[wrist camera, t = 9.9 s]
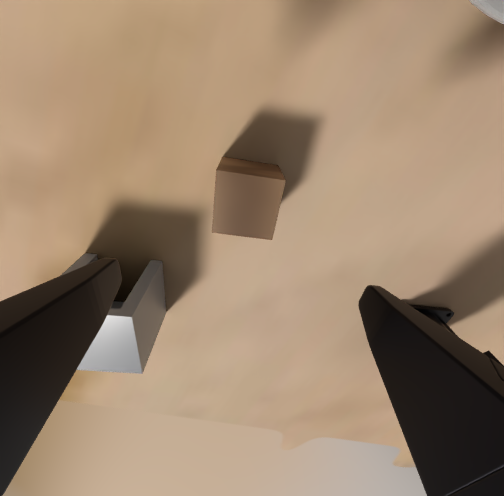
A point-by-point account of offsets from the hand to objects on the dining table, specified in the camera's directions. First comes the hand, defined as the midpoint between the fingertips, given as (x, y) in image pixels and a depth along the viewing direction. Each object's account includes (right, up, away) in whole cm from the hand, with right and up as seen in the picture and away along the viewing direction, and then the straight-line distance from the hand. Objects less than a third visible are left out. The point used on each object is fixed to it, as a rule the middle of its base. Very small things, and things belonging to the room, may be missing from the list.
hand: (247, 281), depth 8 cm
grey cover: (-12, -2, +14) cm, 18 cm away
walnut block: (0, +6, +9) cm, 11 cm away
